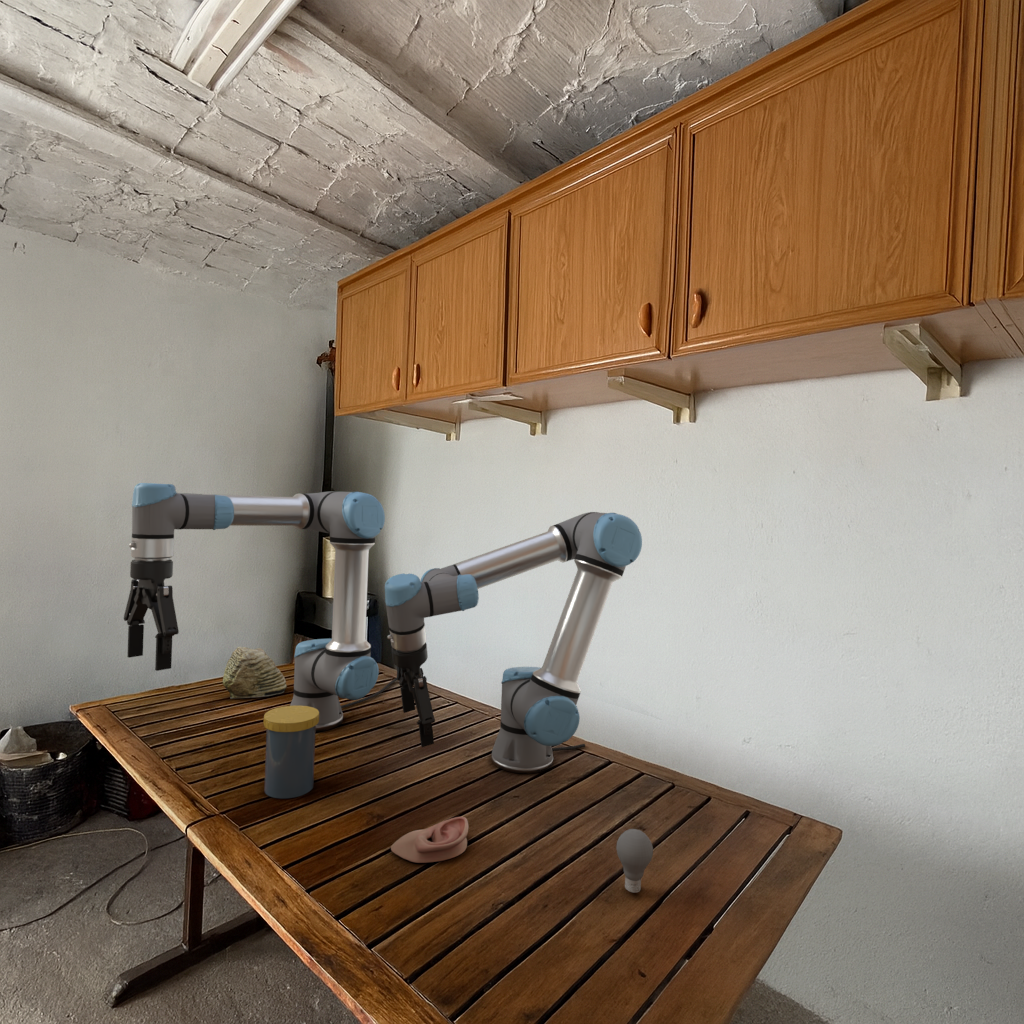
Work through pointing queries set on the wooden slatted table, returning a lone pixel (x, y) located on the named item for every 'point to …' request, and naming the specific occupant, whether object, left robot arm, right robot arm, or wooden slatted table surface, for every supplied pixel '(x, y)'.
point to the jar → (289, 763)
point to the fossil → (252, 674)
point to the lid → (291, 718)
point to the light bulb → (634, 857)
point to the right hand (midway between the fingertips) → (418, 727)
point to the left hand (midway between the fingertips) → (148, 662)
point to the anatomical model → (434, 842)
